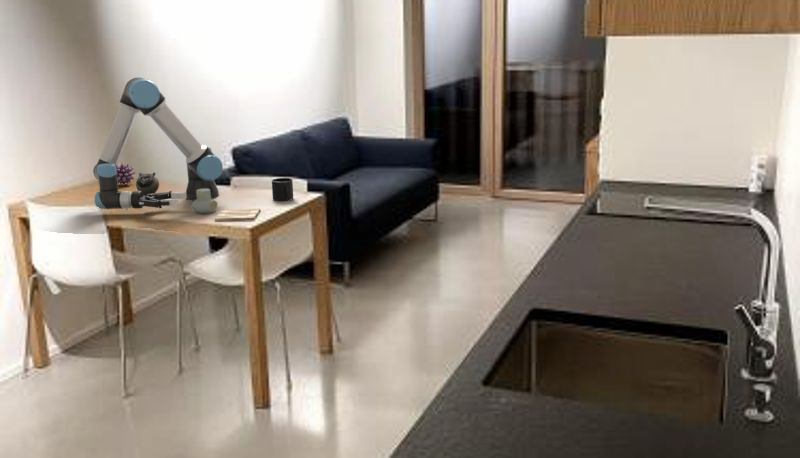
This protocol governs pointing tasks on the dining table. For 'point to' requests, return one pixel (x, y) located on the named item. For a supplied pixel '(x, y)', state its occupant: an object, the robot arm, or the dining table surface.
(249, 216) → the coaster board
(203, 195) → the air freshener
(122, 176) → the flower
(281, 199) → the mug
